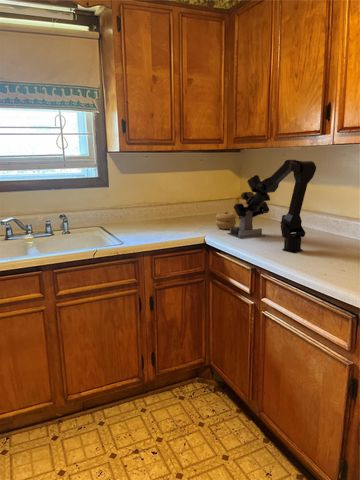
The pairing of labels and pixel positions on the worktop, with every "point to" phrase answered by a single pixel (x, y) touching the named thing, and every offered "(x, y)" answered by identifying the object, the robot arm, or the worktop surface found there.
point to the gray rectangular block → (246, 222)
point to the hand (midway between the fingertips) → (244, 218)
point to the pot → (225, 220)
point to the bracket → (245, 233)
